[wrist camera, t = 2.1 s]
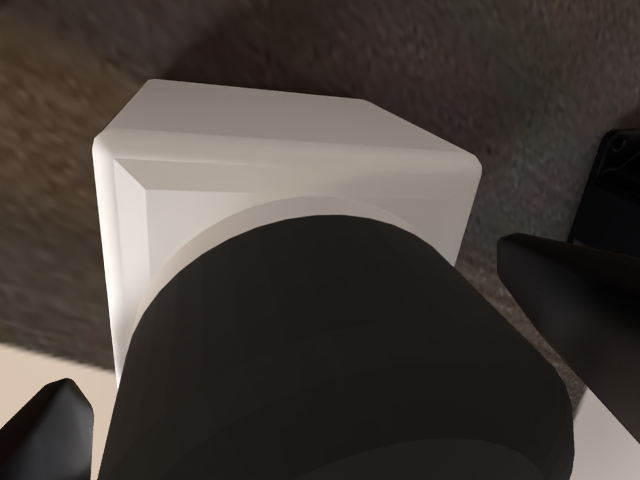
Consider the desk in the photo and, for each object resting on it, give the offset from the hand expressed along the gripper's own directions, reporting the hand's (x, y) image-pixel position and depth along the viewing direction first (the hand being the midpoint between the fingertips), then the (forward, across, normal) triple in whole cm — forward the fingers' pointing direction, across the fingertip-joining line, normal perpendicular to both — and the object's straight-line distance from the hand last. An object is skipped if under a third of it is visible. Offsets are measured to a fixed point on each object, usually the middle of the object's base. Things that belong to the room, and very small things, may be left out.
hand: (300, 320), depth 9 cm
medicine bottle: (+8, 0, 0) cm, 8 cm away
